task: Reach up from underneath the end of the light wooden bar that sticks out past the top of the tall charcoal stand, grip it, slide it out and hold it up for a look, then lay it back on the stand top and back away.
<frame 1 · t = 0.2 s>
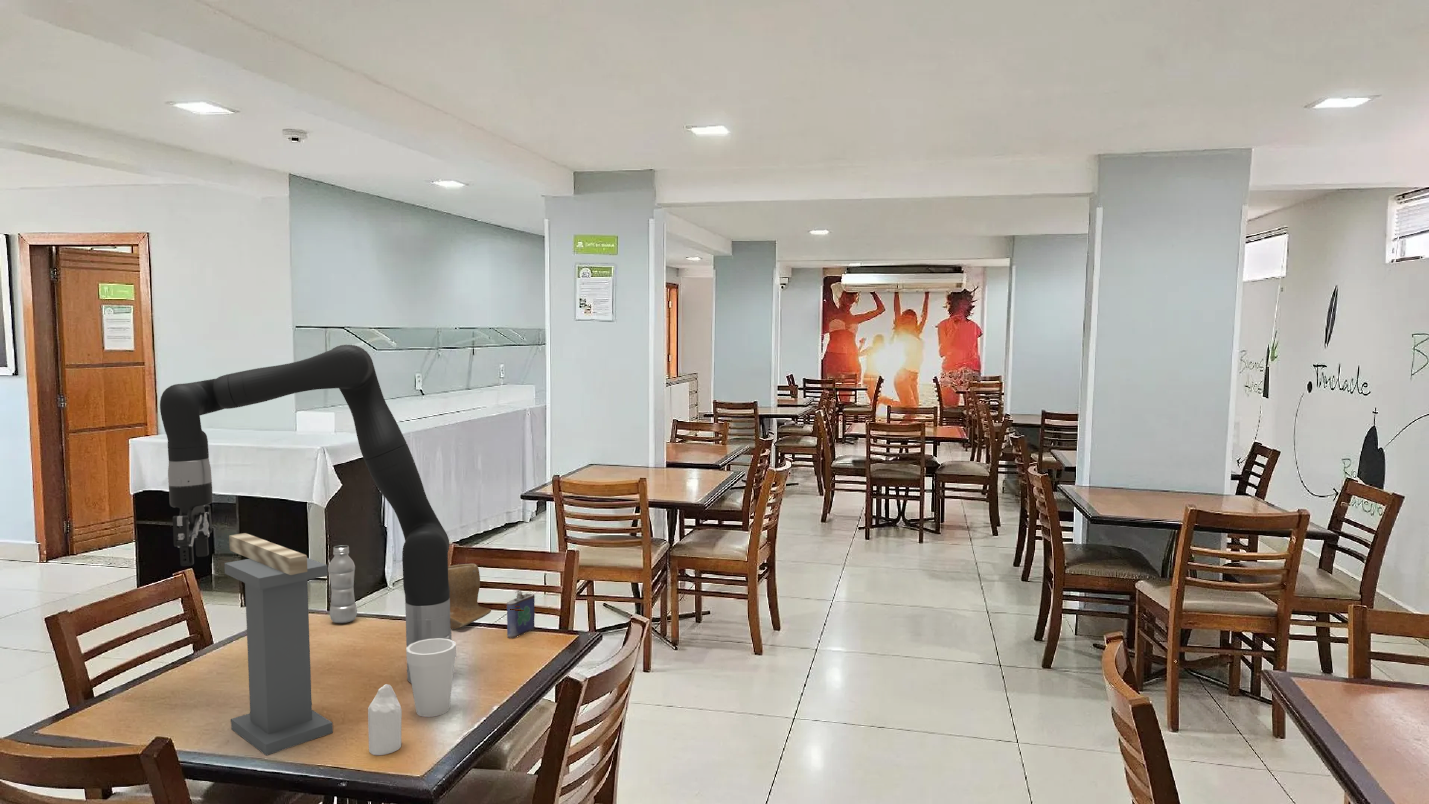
hand: (195, 560, 178), 29 cm above the table, tool pointing down, fingers open, 8 cm apart
foam cup: (432, 711, 174), on the table
light wooden bar: (266, 560, 165), point 32 cm above the table, touching stand
flask: (520, 633, 220), on the table
plastic bottle: (343, 622, 229), on the table
brown bent piece: (461, 622, 229), on the table
white pointed cylinder: (385, 749, 158), on the table
stand: (281, 731, 165), on the table
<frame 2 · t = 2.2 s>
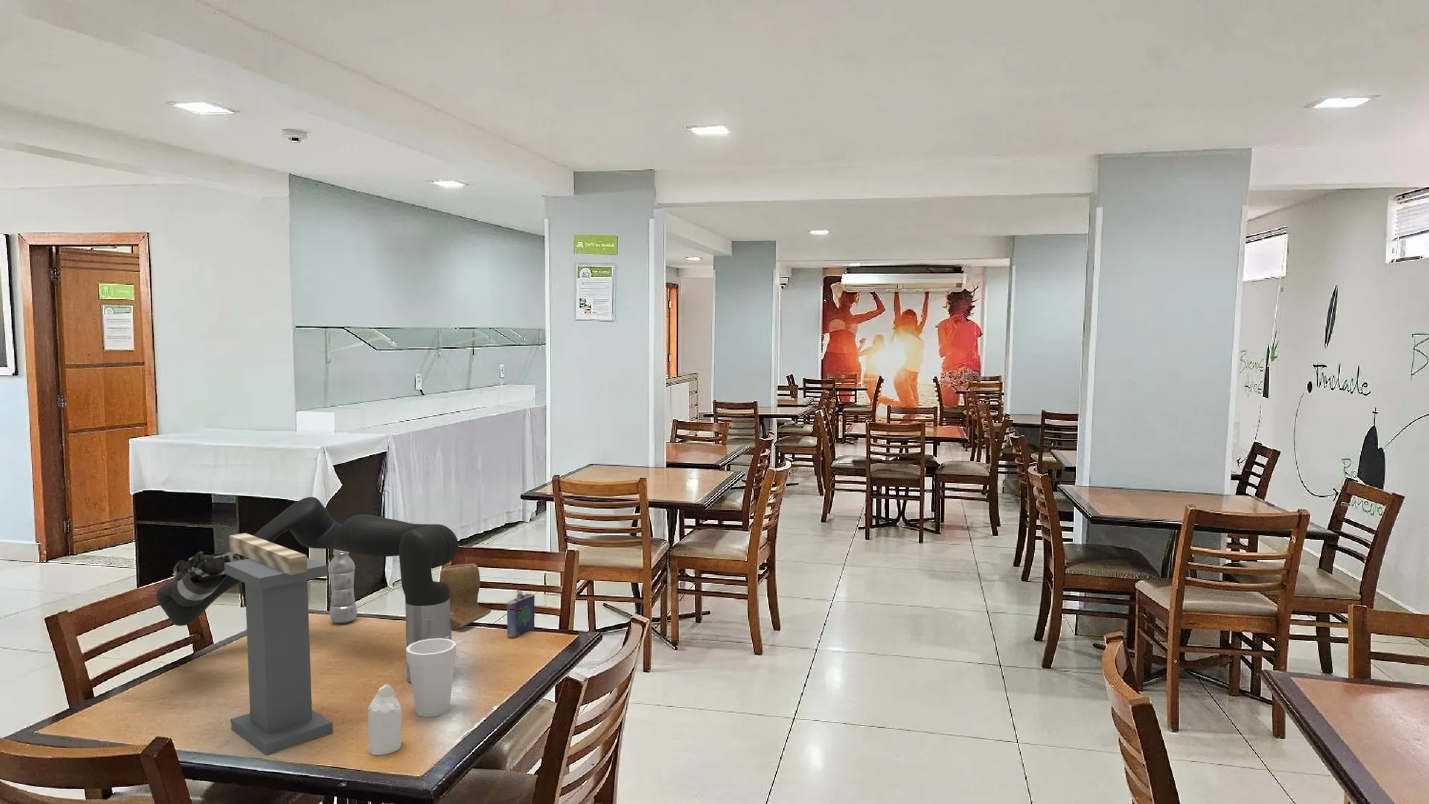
hand: (225, 552, 179), 30 cm above the table, tool pointing upward, fingers open, 8 cm apart
nothing on the table moved.
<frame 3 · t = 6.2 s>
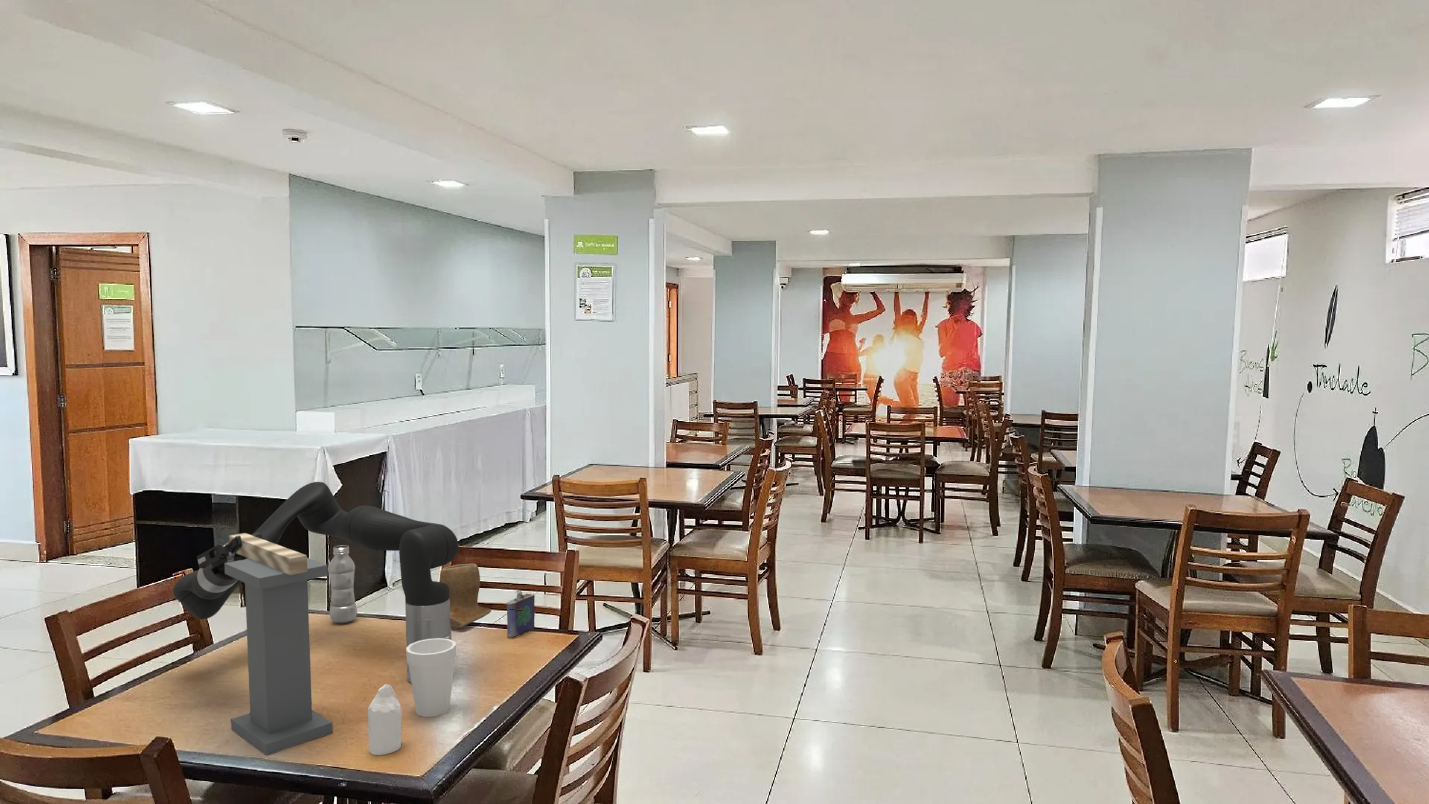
hand: (249, 539, 170), 35 cm above the table, tool pointing upward, fingers closed on light wooden bar, 3 cm apart
light wooden bar: (266, 560, 165), point 32 cm above the table, touching gripper, stand
everything else where it was.
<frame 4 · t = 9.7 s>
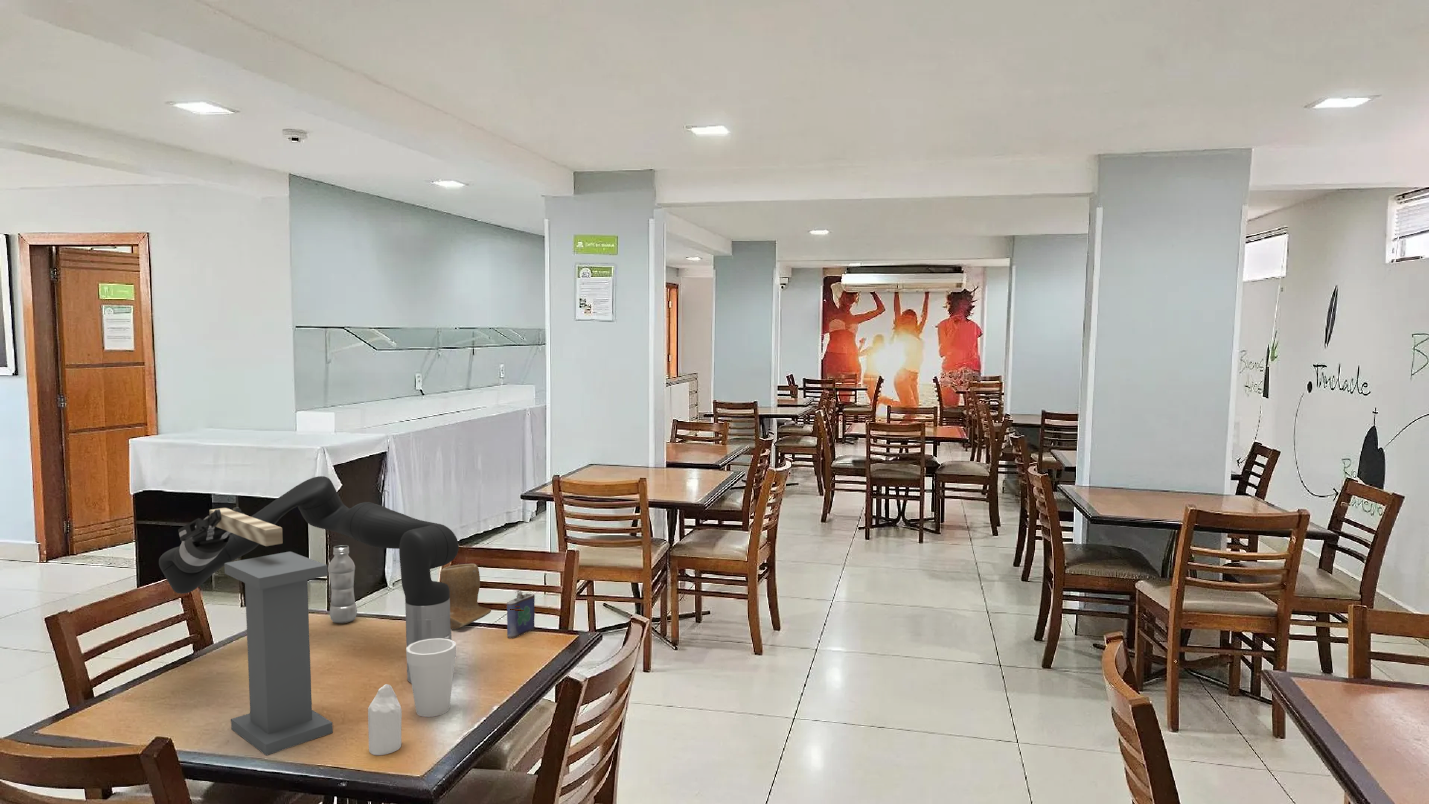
hand: (228, 512, 176), 39 cm above the table, tool pointing upward, fingers closed on light wooden bar, 3 cm apart
light wooden bar: (244, 533, 171), point 36 cm above the table, touching gripper
everything else where it was.
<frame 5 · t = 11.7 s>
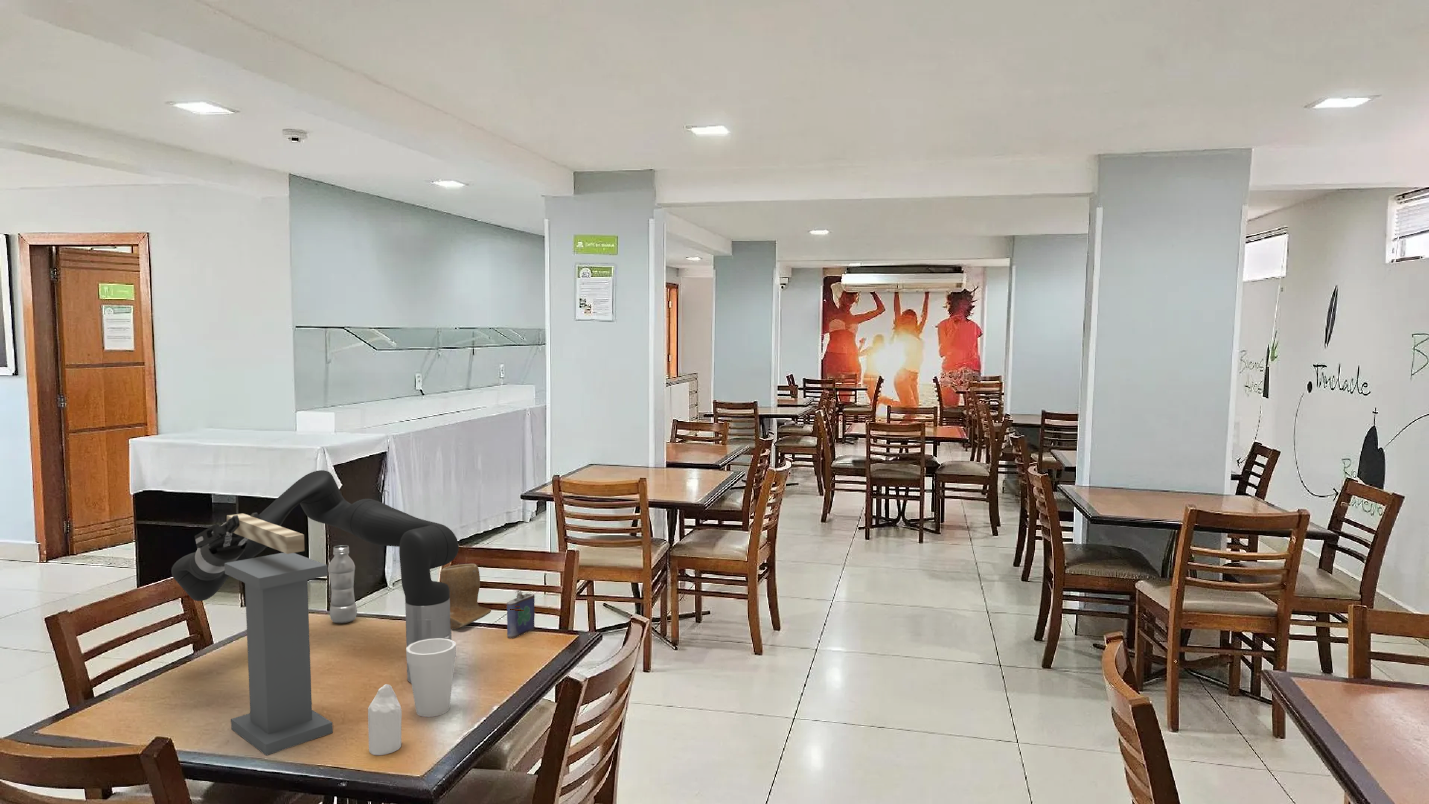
hand: (246, 518, 170), 39 cm above the table, tool pointing upward, fingers closed on light wooden bar, 3 cm apart
light wooden bar: (263, 540, 165), point 36 cm above the table, touching gripper
everything else where it was.
when the fingers open (36 cm above the table, at t = 13.3 s): light wooden bar stays where it is, resting on stand.
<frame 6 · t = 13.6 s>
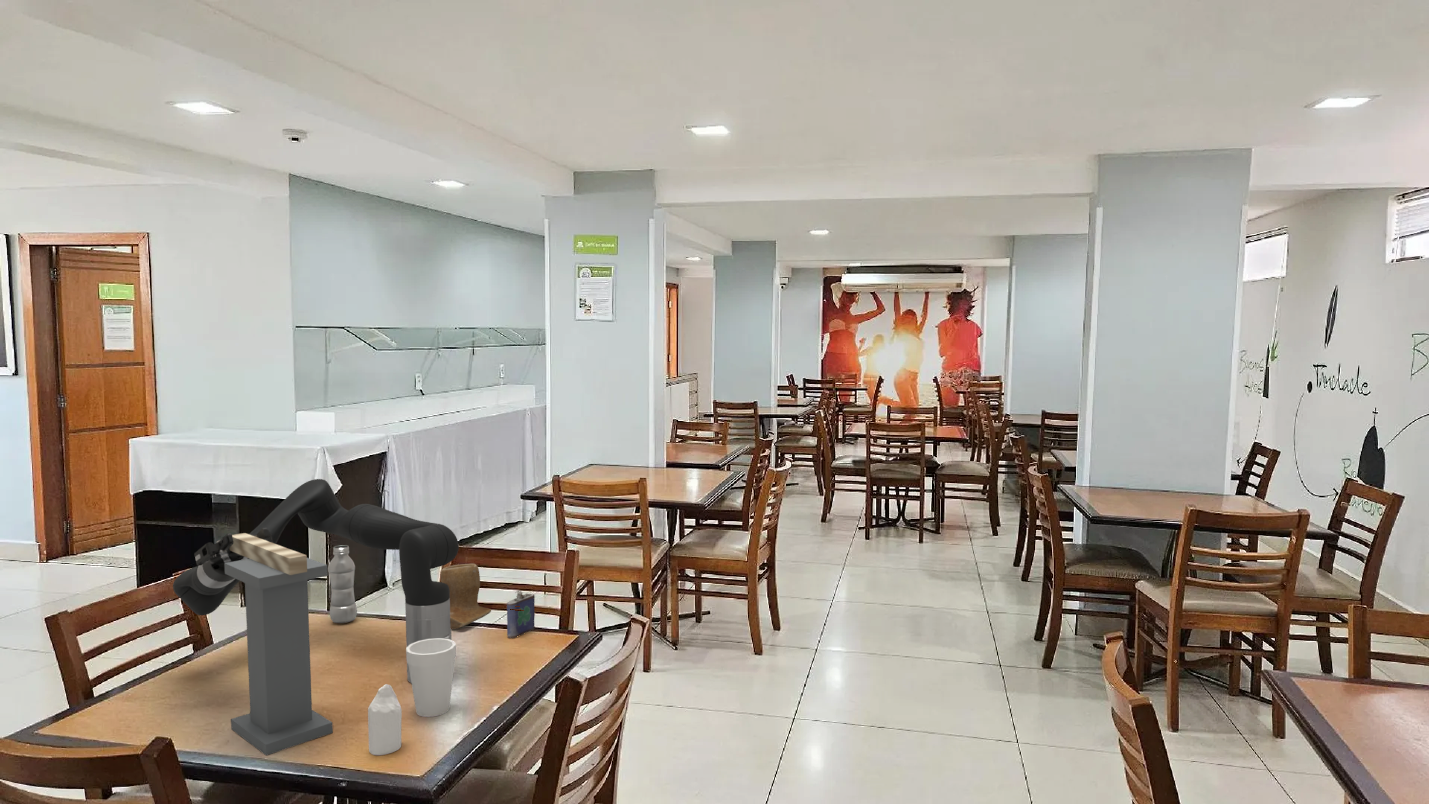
hand: (248, 535, 170), 36 cm above the table, tool pointing upward, fingers open, 6 cm apart
light wooden bar: (266, 560, 165), point 32 cm above the table, touching stand
everything else where it was.
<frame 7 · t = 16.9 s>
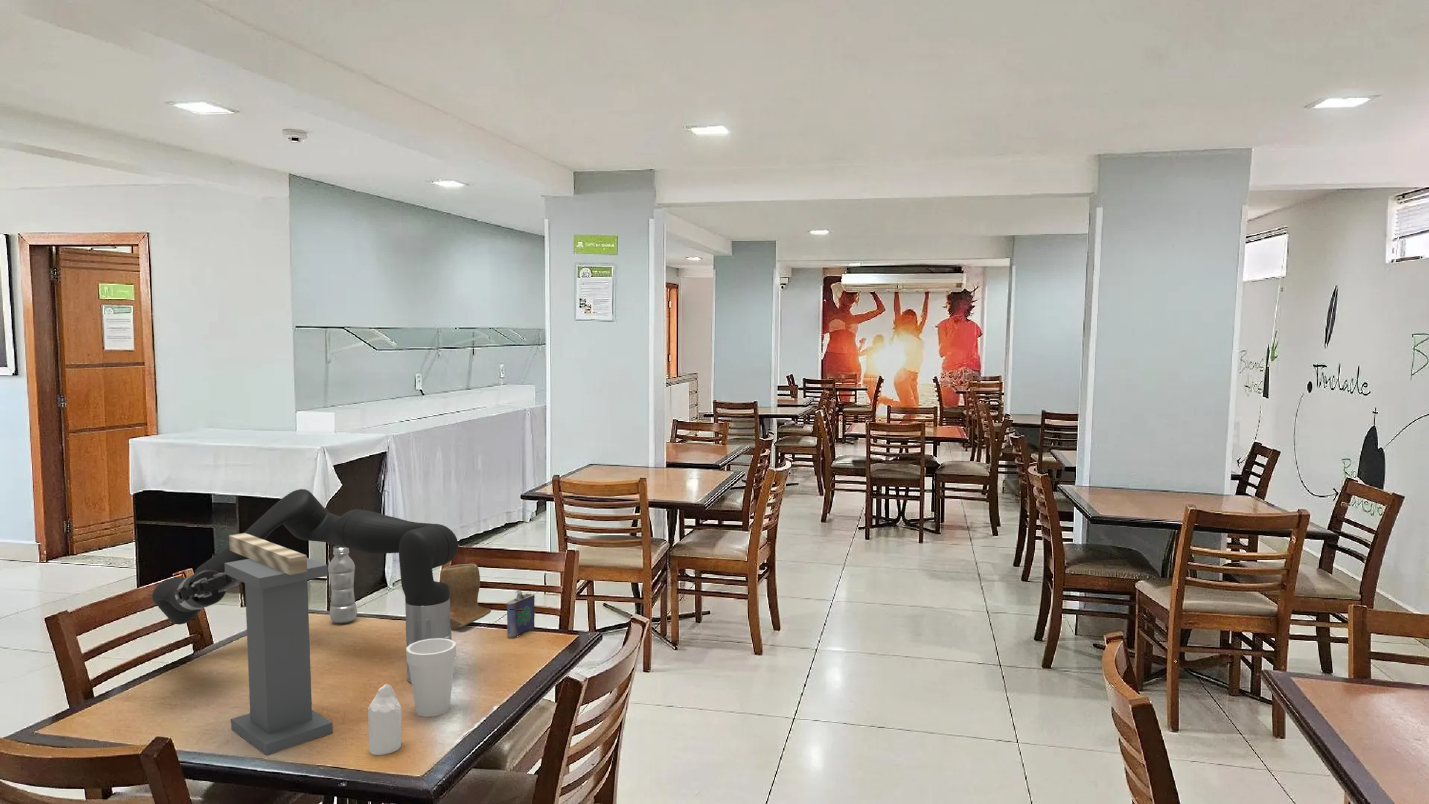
hand: (227, 578, 177), 25 cm above the table, tool pointing upward, fingers open, 8 cm apart
nothing on the table moved.
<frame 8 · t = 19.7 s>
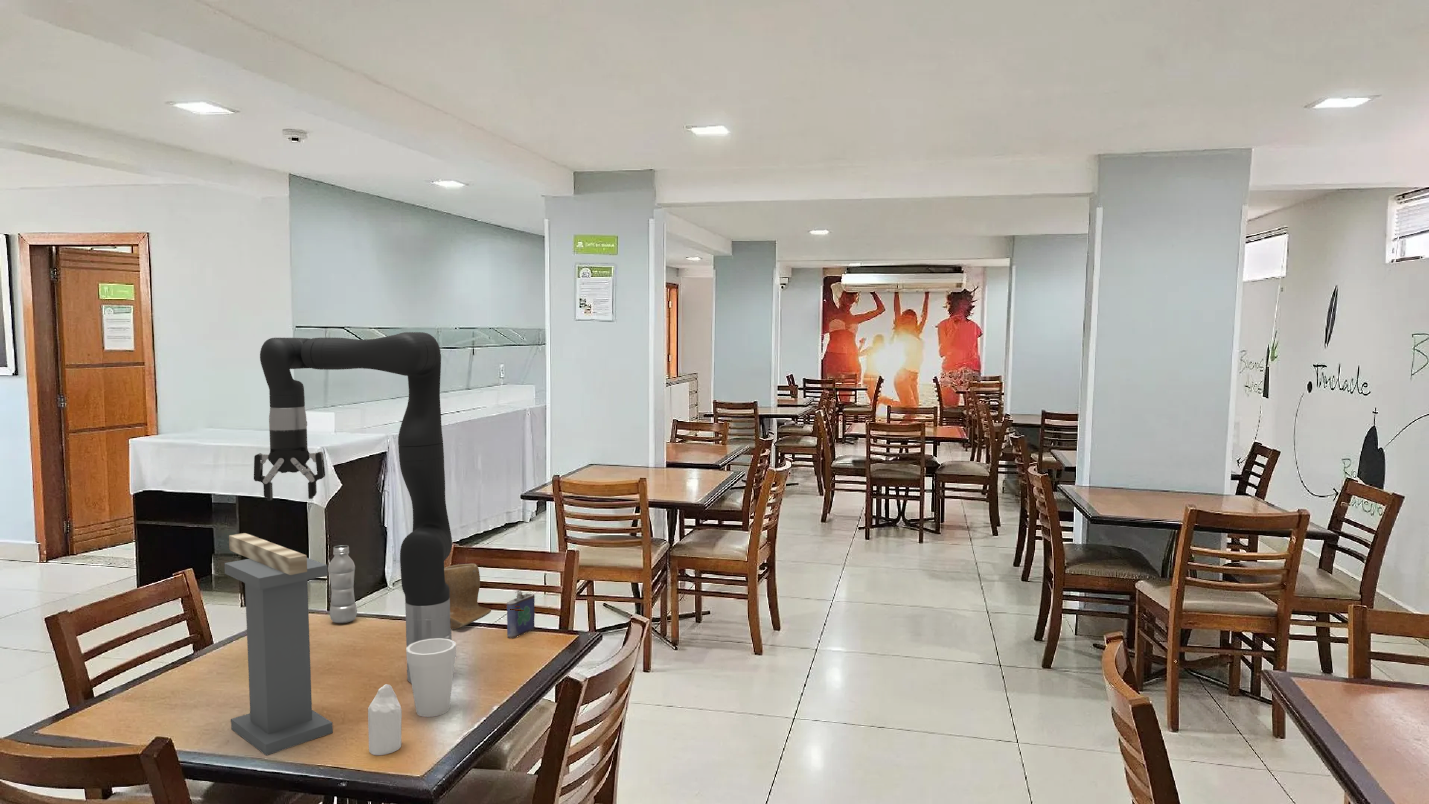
hand: (290, 499, 196), 38 cm above the table, tool pointing down, fingers open, 8 cm apart
nothing on the table moved.
at the end: light wooden bar inside the target area on the stand (4.0 cm from its centre), point 32.0 cm above the stand's base; the gripper is holding nothing; light wooden bar tilted 0° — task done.
